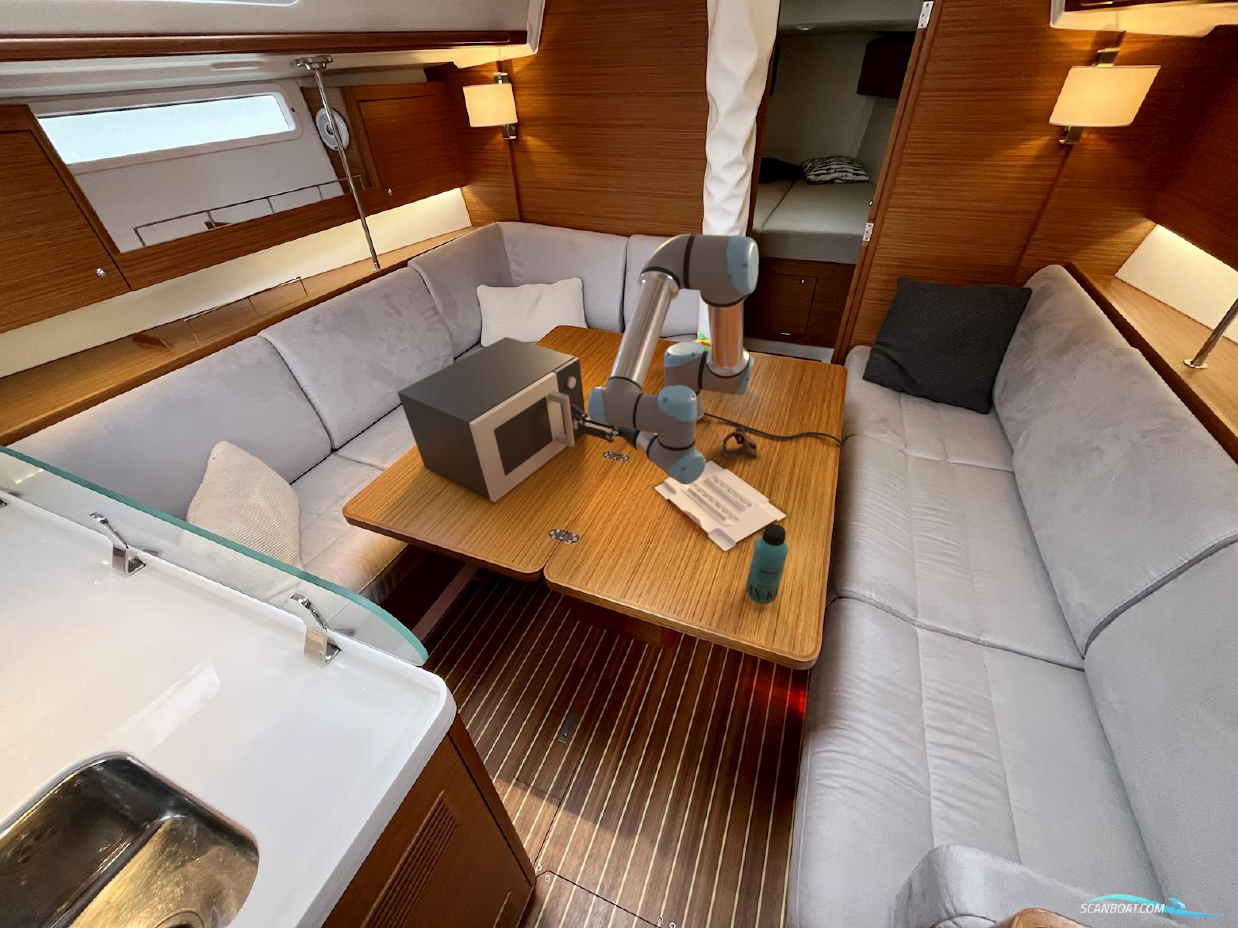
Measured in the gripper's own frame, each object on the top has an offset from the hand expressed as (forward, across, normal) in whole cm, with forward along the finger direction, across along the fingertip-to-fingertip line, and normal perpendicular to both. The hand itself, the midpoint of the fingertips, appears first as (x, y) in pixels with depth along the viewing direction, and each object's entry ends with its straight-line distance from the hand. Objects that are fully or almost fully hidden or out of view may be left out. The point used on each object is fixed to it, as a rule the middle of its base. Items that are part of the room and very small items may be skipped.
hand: (596, 399), depth 124 cm
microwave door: (+11, -14, -24) cm, 30 cm away
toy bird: (+24, +62, -24) cm, 71 cm away
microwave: (+28, -15, -24) cm, 40 cm away
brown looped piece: (-16, +37, -24) cm, 47 cm away
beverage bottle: (-55, +4, -25) cm, 60 cm away
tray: (-28, +18, -24) cm, 41 cm away
